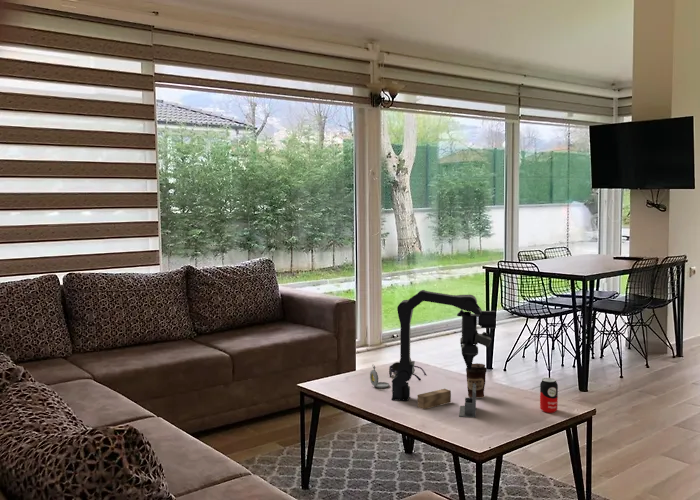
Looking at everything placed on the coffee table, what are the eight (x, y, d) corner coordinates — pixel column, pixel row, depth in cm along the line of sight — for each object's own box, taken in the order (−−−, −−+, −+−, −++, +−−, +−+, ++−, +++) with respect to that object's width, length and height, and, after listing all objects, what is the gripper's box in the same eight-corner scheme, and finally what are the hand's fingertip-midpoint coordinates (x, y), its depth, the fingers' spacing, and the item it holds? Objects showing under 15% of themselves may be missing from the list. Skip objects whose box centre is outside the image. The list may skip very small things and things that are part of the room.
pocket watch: (392, 385, 293) (392, 362, 292) (382, 390, 285) (382, 367, 285) (375, 383, 297) (375, 360, 296) (365, 387, 290) (365, 364, 289)
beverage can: (537, 411, 256) (538, 380, 255) (543, 407, 261) (543, 376, 260) (554, 414, 252) (554, 382, 251) (559, 409, 257) (560, 378, 256)
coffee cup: (486, 400, 270) (486, 368, 269) (465, 399, 272) (465, 367, 271) (486, 393, 279) (486, 362, 278) (466, 392, 281) (466, 362, 279)
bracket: (459, 416, 251) (459, 391, 250) (460, 406, 263) (460, 382, 262) (475, 417, 250) (475, 392, 249) (475, 407, 262) (476, 383, 261)
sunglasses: (395, 371, 317) (395, 360, 317) (428, 374, 311) (428, 363, 310) (385, 378, 305) (385, 367, 304) (419, 382, 298) (419, 371, 298)
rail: (423, 409, 261) (423, 396, 260) (417, 407, 263) (417, 394, 263) (450, 403, 268) (450, 390, 268) (444, 400, 271) (444, 388, 271)
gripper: (491, 332, 256) (491, 373, 257) (488, 323, 274) (487, 361, 276) (462, 332, 257) (461, 372, 259) (460, 322, 276) (460, 360, 277)
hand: (468, 366), depth 268 cm, fingers open, 9 cm apart
